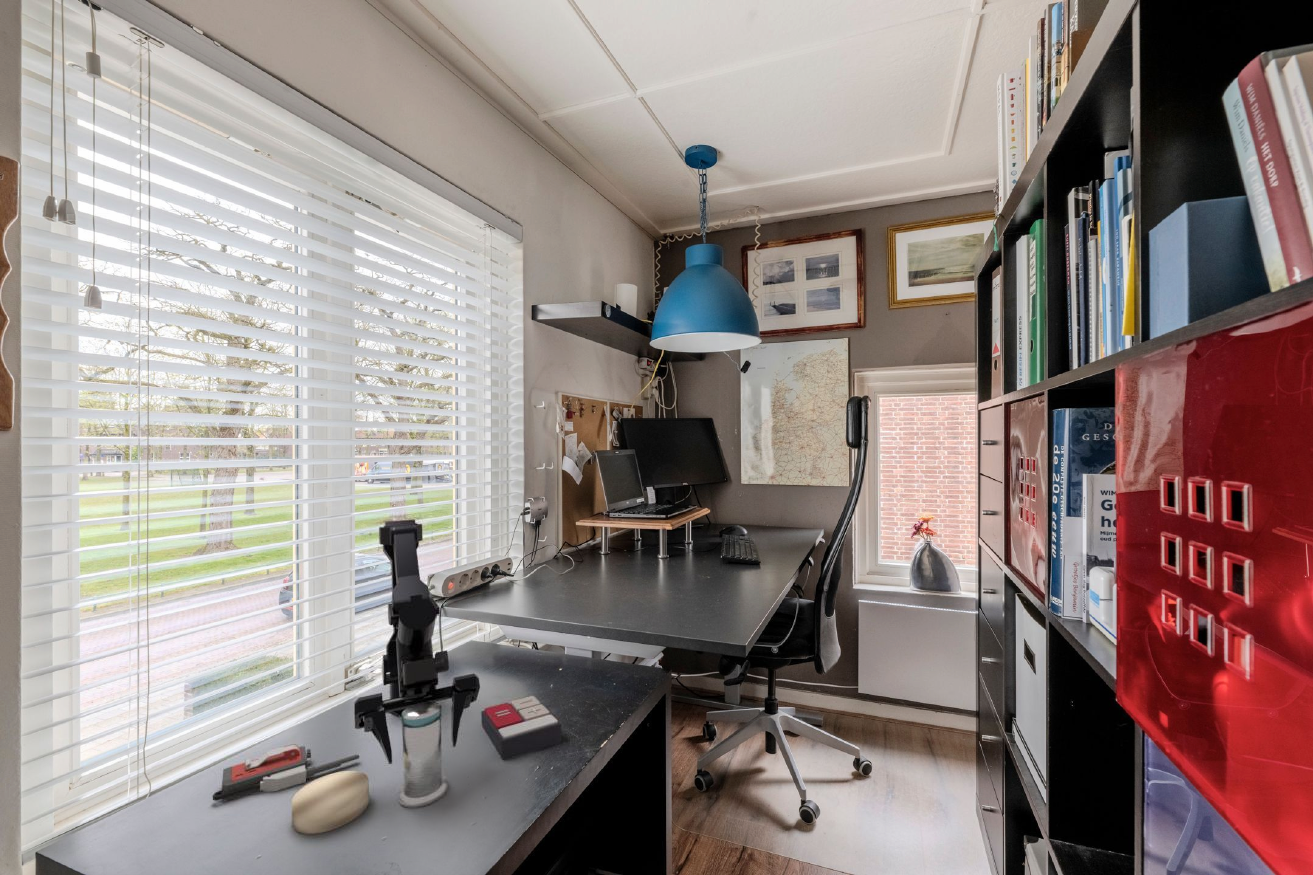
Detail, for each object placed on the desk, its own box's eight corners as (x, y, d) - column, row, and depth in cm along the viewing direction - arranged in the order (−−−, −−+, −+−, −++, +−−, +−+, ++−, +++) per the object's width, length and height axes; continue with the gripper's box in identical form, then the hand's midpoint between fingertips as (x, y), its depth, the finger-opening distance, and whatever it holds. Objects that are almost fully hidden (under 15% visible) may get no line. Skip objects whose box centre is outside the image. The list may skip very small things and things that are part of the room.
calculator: (534, 692, 114) (561, 718, 101) (535, 714, 114) (562, 742, 101) (480, 706, 108) (501, 736, 96) (481, 729, 108) (502, 761, 95)
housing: (388, 797, 86) (386, 713, 86) (430, 774, 92) (428, 695, 92) (415, 814, 82) (413, 726, 82) (457, 788, 88) (455, 706, 88)
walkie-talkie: (211, 815, 83) (360, 767, 95) (211, 785, 83) (360, 741, 95) (214, 786, 90) (353, 745, 102) (214, 759, 90) (352, 721, 102)
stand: (279, 817, 82) (279, 796, 82) (348, 782, 90) (348, 763, 90) (311, 843, 76) (311, 821, 76) (382, 803, 84) (381, 783, 84)
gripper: (353, 647, 86) (354, 751, 76) (476, 626, 95) (491, 717, 85) (354, 679, 93) (355, 779, 83) (469, 657, 102) (482, 745, 92)
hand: (423, 754), depth 86 cm, fingers open, 9 cm apart
